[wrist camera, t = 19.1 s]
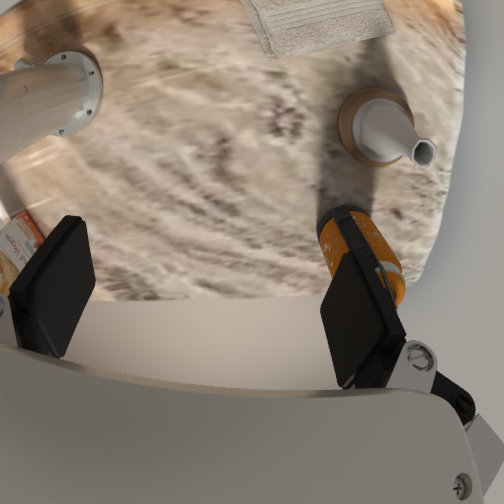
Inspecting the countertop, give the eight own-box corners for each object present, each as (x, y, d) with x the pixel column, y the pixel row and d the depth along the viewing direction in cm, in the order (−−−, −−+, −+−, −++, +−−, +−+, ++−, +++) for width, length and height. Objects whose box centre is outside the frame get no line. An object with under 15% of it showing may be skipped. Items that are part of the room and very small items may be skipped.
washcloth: (230, -10, 25) (229, -16, 23) (359, -39, 21) (367, -45, 19) (268, 66, 32) (271, 66, 29) (391, 34, 28) (402, 33, 25)
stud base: (320, 125, 36) (327, 130, 33) (374, 71, 31) (386, 73, 28) (371, 176, 40) (380, 186, 37) (420, 128, 35) (432, 134, 33)
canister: (326, 259, 49) (360, 359, 33) (302, 206, 43) (338, 306, 27) (374, 238, 47) (426, 330, 30) (357, 182, 41) (423, 269, 25)
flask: (397, 161, 35) (436, 193, 27) (351, 147, 34) (384, 176, 26) (413, 112, 31) (459, 133, 23) (366, 94, 30) (406, 108, 22)
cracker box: (67, 266, 48) (19, 354, 31) (49, 274, 49) (3, 356, 32) (26, 206, 40) (-44, 285, 23) (10, 219, 41) (-53, 294, 24)
